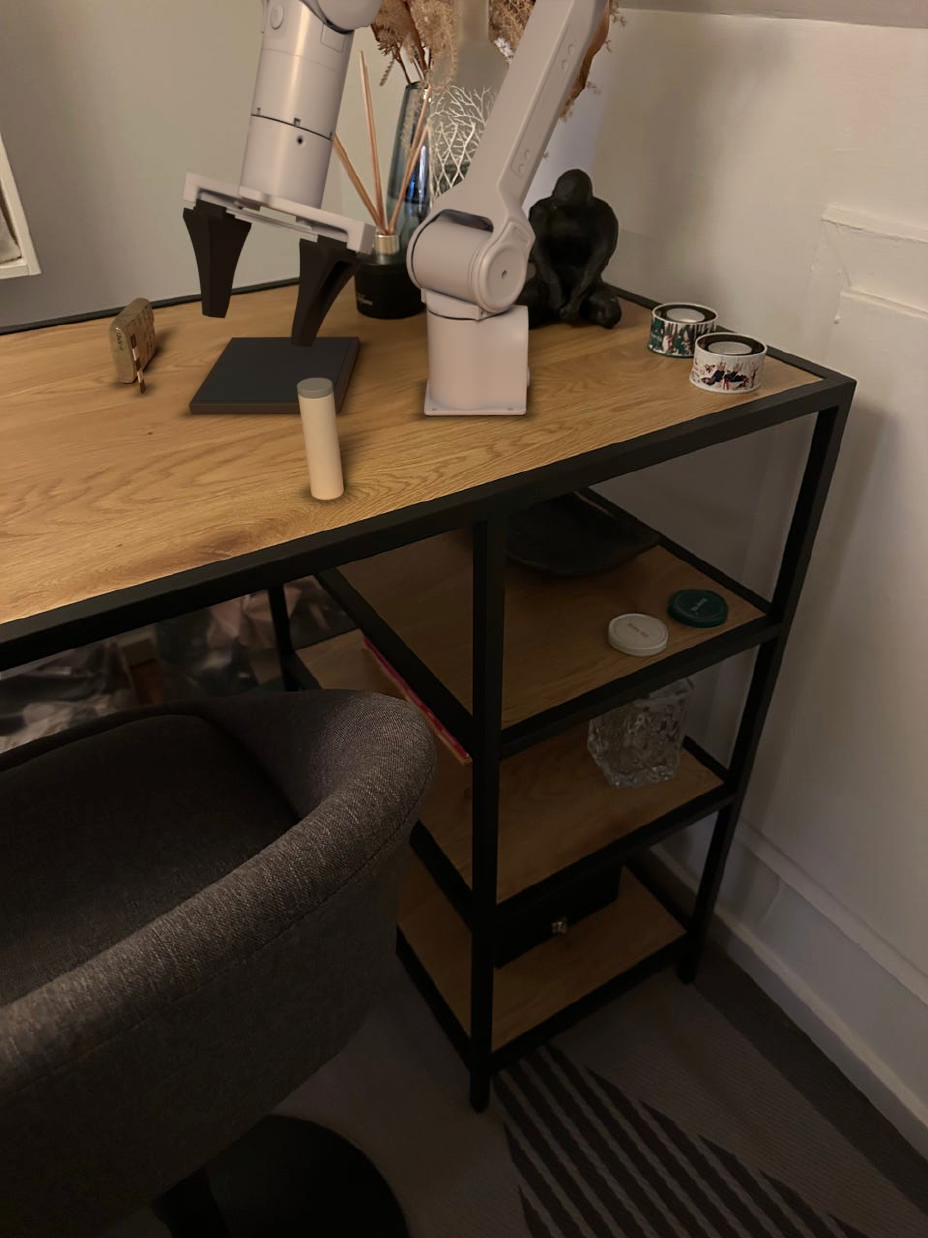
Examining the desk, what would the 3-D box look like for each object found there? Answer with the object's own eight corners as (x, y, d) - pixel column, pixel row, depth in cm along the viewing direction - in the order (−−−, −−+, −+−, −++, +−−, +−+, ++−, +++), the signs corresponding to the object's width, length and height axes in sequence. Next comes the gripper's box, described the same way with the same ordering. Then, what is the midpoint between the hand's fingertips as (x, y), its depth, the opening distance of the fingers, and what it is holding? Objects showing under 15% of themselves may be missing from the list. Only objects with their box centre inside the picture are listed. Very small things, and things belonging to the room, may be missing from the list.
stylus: (345, 484, 70) (334, 377, 65) (341, 500, 68) (329, 390, 63) (313, 484, 71) (299, 377, 65) (308, 500, 68) (294, 391, 63)
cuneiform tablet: (131, 335, 82) (164, 296, 92) (90, 334, 82) (128, 295, 92) (142, 394, 86) (173, 350, 95) (103, 393, 86) (138, 349, 95)
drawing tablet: (359, 345, 96) (359, 335, 95) (339, 413, 81) (337, 402, 81) (233, 345, 96) (231, 336, 95) (190, 414, 82) (188, 403, 81)
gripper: (167, 89, 58) (140, 300, 62) (360, 140, 54) (315, 358, 59) (228, 117, 64) (199, 306, 69) (403, 164, 61) (360, 359, 66)
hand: (256, 330), depth 64 cm, fingers open, 7 cm apart
